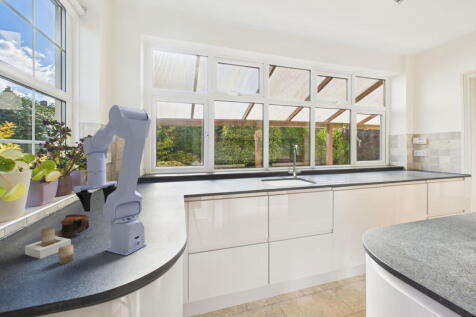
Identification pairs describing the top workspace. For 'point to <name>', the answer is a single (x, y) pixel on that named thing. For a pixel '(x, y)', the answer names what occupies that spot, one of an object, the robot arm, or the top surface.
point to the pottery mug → (74, 224)
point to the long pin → (47, 236)
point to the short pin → (66, 254)
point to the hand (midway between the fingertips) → (97, 208)
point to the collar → (46, 248)
